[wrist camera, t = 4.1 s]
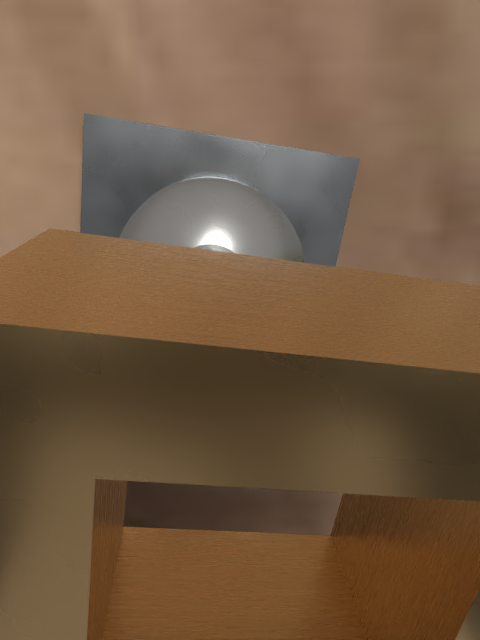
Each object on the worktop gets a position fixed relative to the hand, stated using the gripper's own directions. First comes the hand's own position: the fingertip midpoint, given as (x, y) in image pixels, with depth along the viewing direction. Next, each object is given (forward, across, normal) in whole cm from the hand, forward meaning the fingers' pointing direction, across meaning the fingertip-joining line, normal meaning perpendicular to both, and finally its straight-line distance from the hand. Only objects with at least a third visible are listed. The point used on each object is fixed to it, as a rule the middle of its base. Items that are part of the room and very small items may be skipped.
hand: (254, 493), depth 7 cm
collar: (+1, 0, 0) cm, 1 cm away
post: (+12, 0, 0) cm, 13 cm away
